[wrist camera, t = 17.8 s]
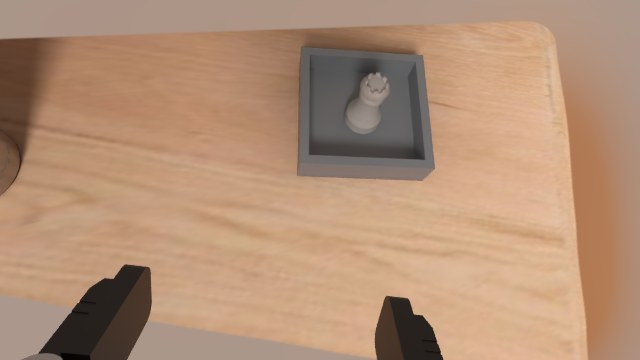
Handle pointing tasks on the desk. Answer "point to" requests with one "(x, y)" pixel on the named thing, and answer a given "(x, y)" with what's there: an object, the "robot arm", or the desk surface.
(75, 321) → the robot arm
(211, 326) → the desk surface
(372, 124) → the rook chess piece
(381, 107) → the tray
